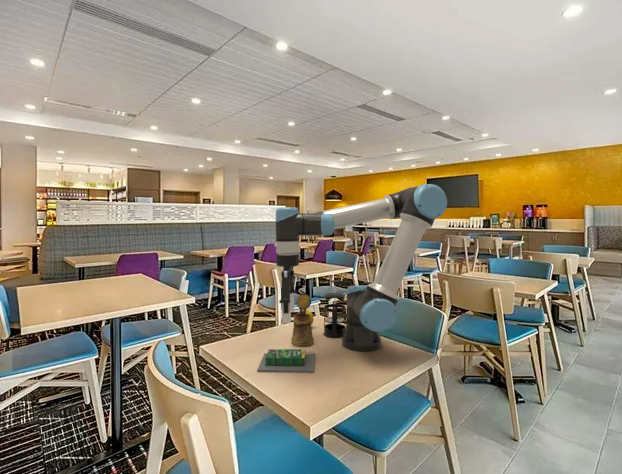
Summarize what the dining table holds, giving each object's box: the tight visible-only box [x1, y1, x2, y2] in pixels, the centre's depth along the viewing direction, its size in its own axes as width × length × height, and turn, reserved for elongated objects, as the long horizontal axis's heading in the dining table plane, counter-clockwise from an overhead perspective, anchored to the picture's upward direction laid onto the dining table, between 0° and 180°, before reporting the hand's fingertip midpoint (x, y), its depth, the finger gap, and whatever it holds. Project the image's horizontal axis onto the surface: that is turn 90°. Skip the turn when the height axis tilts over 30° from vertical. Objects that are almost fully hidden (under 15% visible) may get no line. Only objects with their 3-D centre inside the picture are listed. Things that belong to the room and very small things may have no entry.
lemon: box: [306, 309, 314, 326], centre depth 155 cm, size 6×6×8 cm
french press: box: [323, 279, 347, 339], centre depth 147 cm, size 12×9×23 cm
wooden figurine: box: [291, 292, 315, 348], centre depth 138 cm, size 9×14×18 cm, turn 176°
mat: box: [256, 352, 316, 374], centre depth 117 cm, size 18×14×1 cm
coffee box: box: [265, 348, 307, 366], centre depth 117 cm, size 8×3×13 cm
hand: (288, 317), depth 116 cm, fingers open, 13 cm apart
